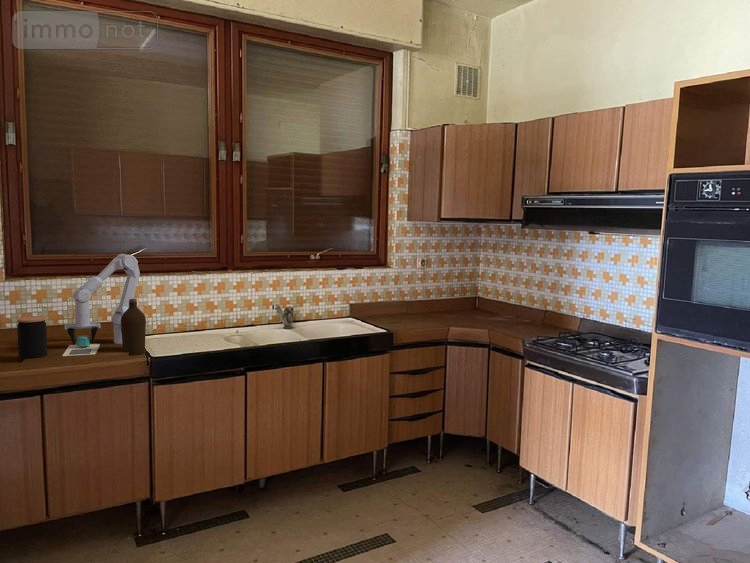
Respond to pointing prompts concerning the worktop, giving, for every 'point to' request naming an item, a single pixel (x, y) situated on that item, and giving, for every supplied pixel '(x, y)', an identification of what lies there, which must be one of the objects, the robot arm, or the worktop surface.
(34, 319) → the coffee jar
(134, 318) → the olive oil
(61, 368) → the worktop surface
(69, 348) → the board
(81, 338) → the cap
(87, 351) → the pad
